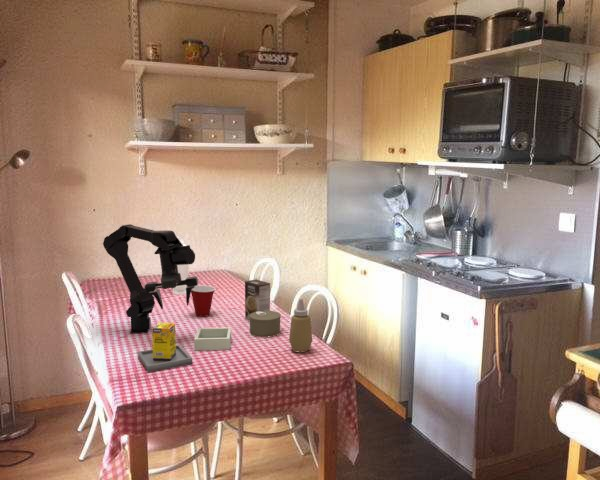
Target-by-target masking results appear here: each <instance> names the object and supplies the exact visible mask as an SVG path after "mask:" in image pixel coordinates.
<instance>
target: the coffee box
mask: <svg viewBox="0 0 600 480" xmlns="http://www.w3.org/2000/svg"><path fill="white" fill-rule="evenodd" d="M244 308H245V309H244V313H245V315H244V316H245V317H244V319H245V320H247V321H249V322H250V317H249V315H250V314H251V313H253V312H256V311H271V283H270V282H267V281H263V280H260V279H257V278H256V279H251V280H245V281H244Z"/></svg>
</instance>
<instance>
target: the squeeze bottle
mask: <svg viewBox="0 0 600 480" xmlns="http://www.w3.org/2000/svg"><path fill="white" fill-rule="evenodd" d="M308 311H309V310H308V309H307V308H305V305H304V299H301V298H299V300H298V303H297V308H295V309H294V310H293V313H294V314H293V315H292V316H291V318H290V319H291V320H290V328H289V336H288V337H289V339H288V341H289V344H290V346H291V349H292V351H293V350H294V351H293V352H295V351H299V352H298V353H302V352H301V351H307V350H309V351H310V348H311V346H312V343H313V332H312V331H313V330H312V323H311V317H310V315H309V314H308V313H309V312H308ZM307 352H308V351H307Z"/></svg>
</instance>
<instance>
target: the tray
mask: <svg viewBox="0 0 600 480" xmlns="http://www.w3.org/2000/svg"><path fill="white" fill-rule="evenodd" d="M137 358H138V359H139V361H140V363H141V364H142V365H143V366H144V368H145V369H146V371H147V373H152V372H157V371H163V370H169V369H174V368H178V367H184V366H188V365H193V358H192V356H191V355H190V354H189V353H188V352H187V351H186V350H185V348H183V347H182V346H181V345H180V344H176V355H175V356H174V357H173V358H172V359H171V361H159V360H153V348H152V349H146V350H145V349H144V350H140V351H137Z"/></svg>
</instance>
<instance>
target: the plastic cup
mask: <svg viewBox="0 0 600 480" xmlns="http://www.w3.org/2000/svg"><path fill="white" fill-rule="evenodd" d="M215 291H216V287H215V286H211V285H200V284H198V285H197V286H195V287H194V288H193V289H192V290H191V294H190V295H191V298H192V303H193V304H192V305H193V307H194V313H195V316H197V317H199V318H200V317H208V316H210V314H211V307H212V302H213V296H214V294H215V293H214V292H215Z"/></svg>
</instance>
